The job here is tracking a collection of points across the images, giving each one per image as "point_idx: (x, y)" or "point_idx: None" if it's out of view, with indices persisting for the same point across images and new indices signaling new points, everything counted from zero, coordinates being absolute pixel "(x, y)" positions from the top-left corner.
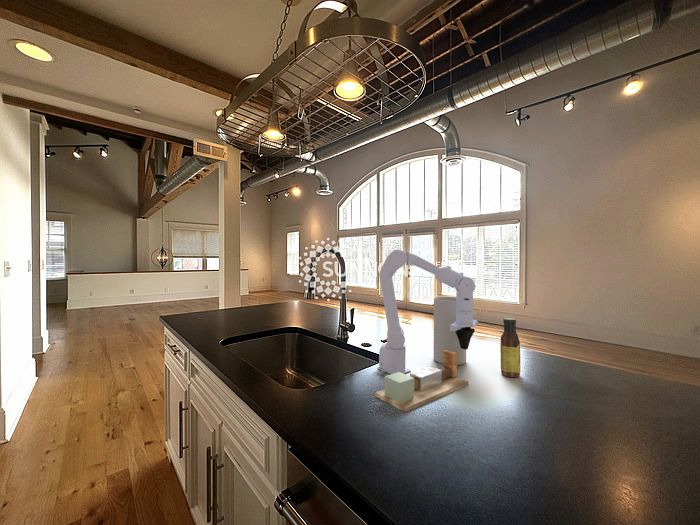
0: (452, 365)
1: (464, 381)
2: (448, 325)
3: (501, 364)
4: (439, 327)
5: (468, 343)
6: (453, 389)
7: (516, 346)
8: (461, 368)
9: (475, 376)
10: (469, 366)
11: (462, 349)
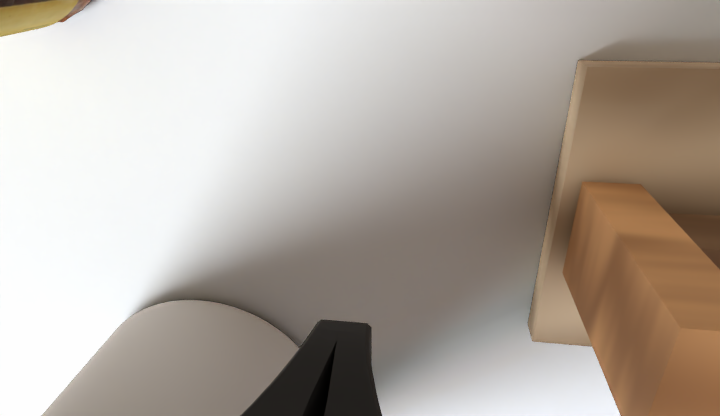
0: (692, 249)
1: (623, 85)
2: None
3: (38, 3)
4: None
5: (312, 368)
6: None
7: None
8: (277, 270)
9: (338, 122)
10: (188, 254)
11: (155, 388)
